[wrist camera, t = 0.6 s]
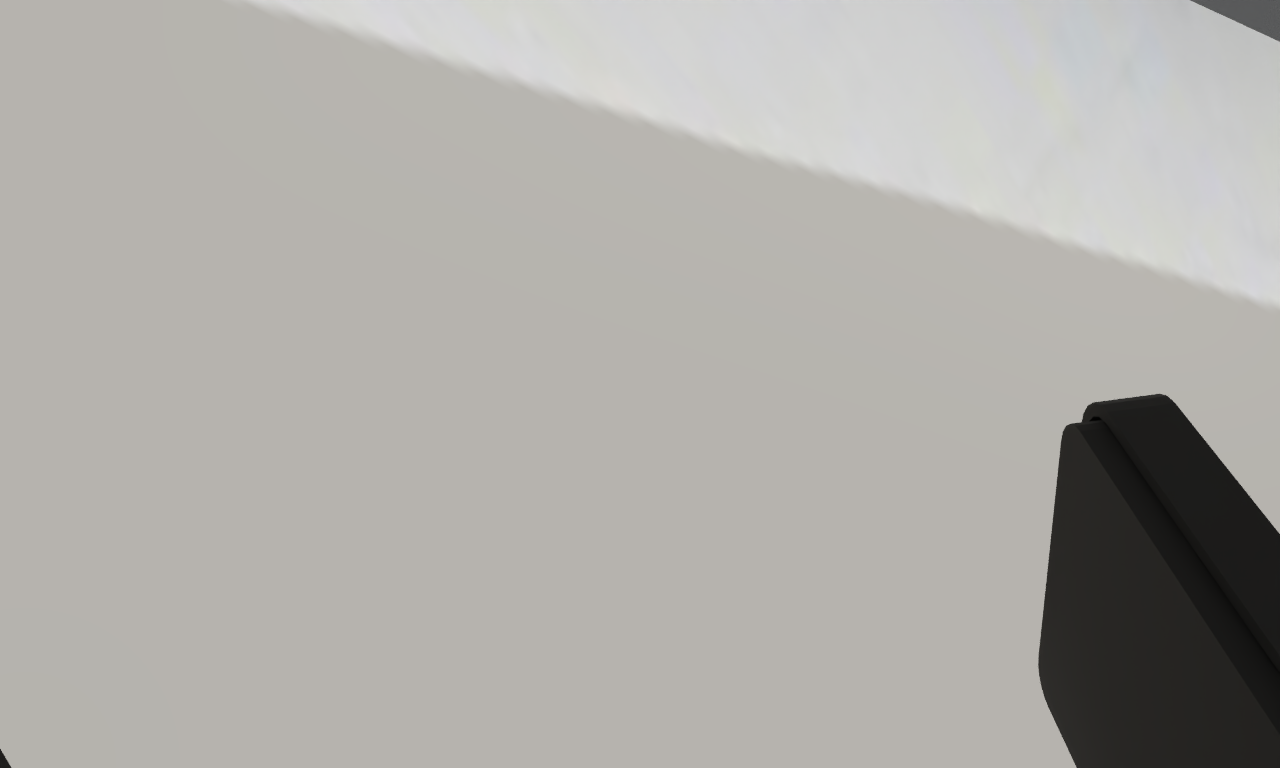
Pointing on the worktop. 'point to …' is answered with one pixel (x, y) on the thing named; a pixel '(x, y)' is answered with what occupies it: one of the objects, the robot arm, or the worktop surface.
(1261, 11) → the dark grey divided tray
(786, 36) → the worktop surface
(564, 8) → the worktop surface
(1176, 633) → the robot arm
